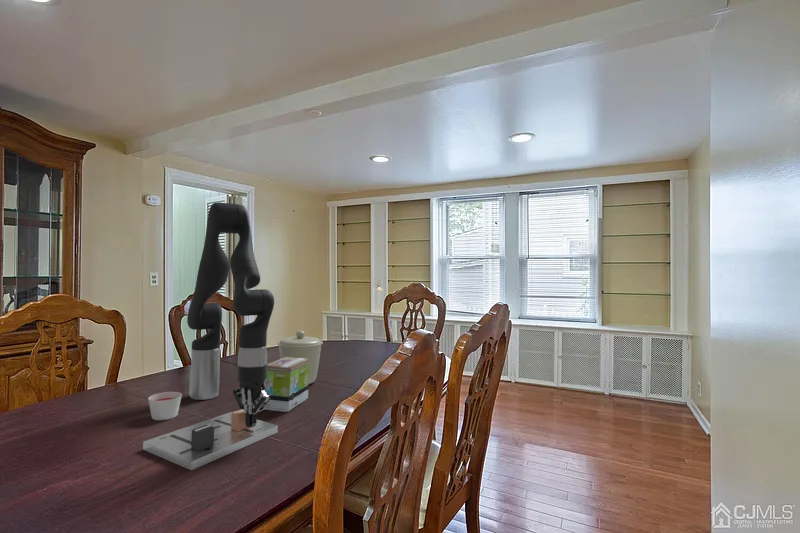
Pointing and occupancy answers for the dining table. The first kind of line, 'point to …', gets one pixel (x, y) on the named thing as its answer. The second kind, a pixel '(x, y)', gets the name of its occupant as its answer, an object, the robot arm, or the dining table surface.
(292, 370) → the tea box
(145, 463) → the dining table surface
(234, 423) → the fader terracotta
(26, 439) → the dining table surface
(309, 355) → the canister
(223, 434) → the mixing board
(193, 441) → the fader black
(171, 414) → the candle
